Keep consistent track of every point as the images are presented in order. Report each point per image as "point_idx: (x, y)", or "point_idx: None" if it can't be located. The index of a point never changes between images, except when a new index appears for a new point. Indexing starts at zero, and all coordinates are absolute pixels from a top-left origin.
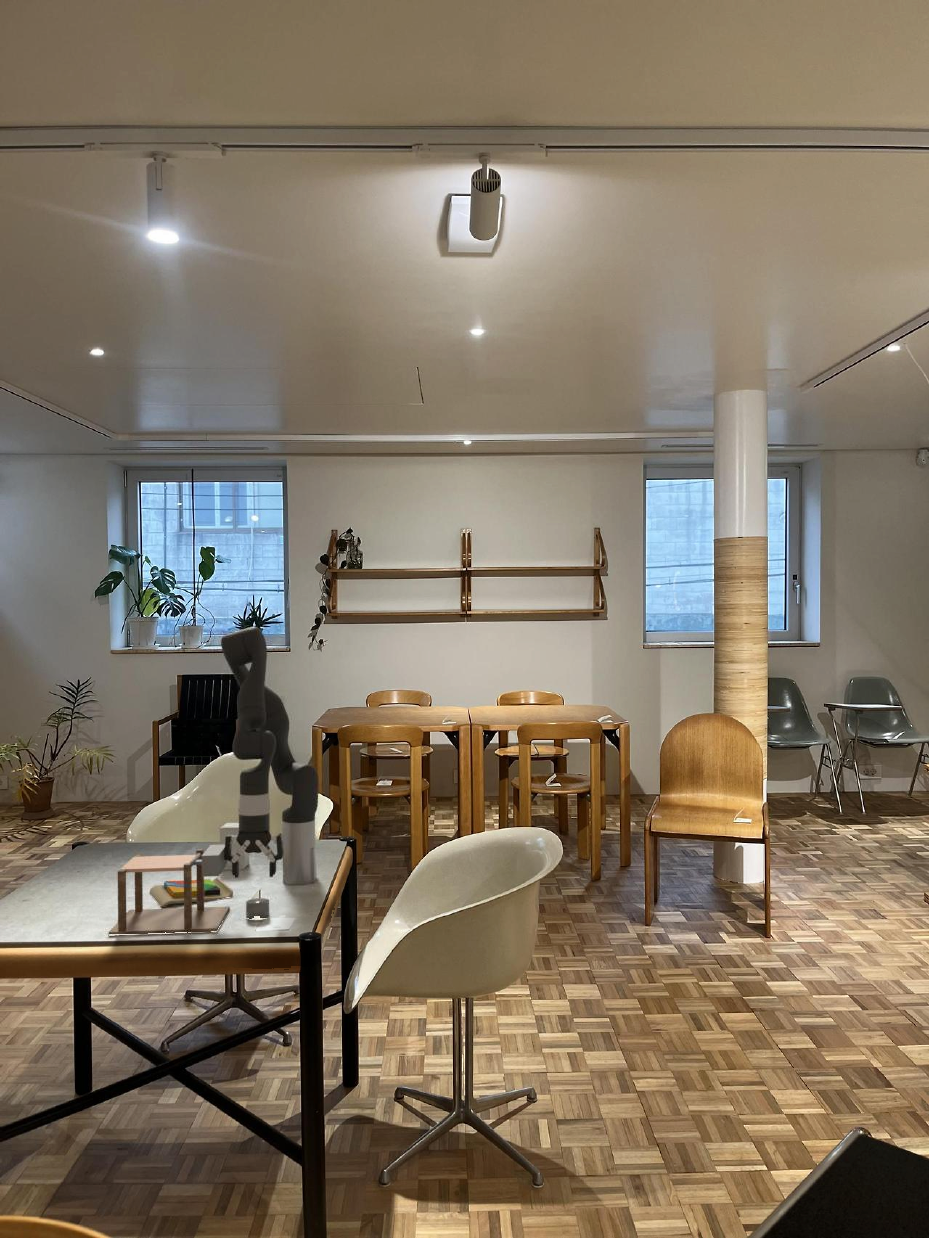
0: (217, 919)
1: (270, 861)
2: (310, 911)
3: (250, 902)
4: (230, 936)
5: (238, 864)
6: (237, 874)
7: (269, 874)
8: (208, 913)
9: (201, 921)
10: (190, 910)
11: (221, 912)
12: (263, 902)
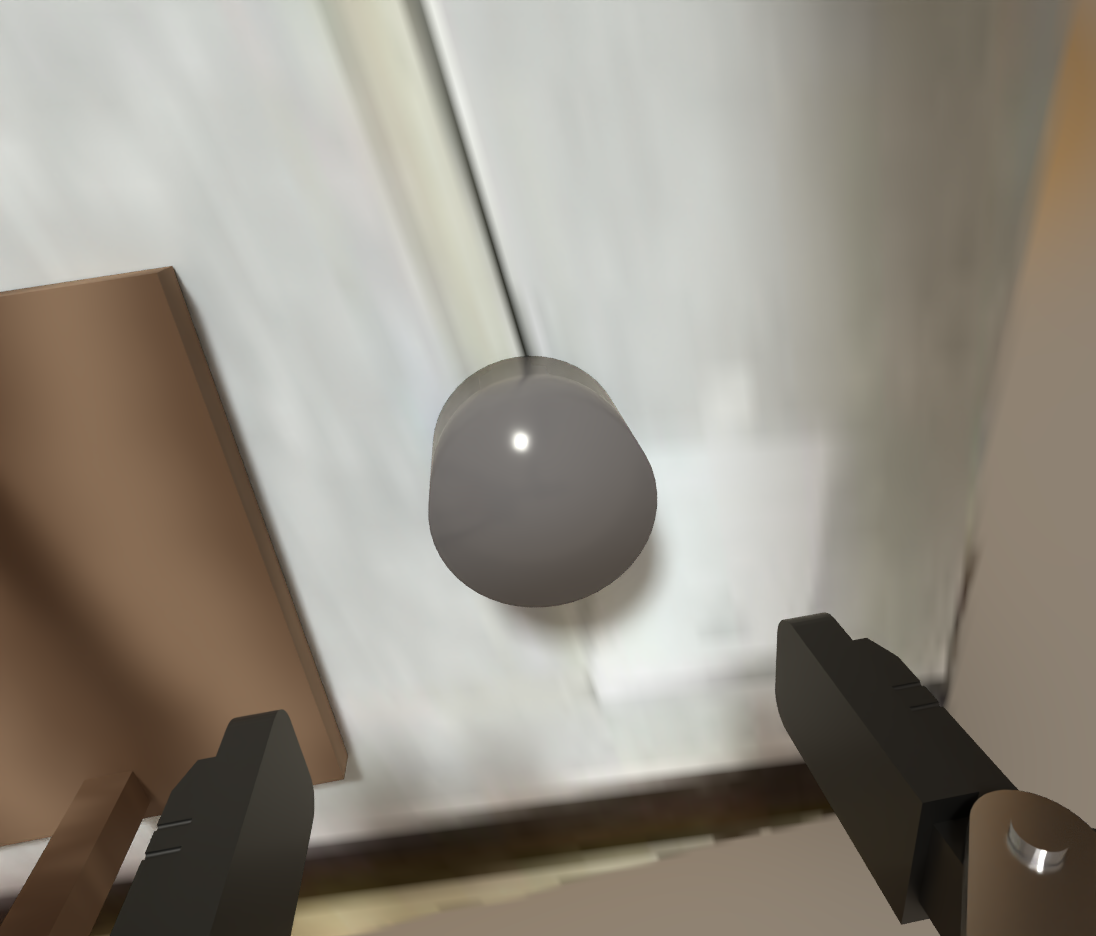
0: (249, 631)
1: (928, 917)
2: (952, 269)
3: (481, 543)
4: (467, 795)
5: (244, 927)
6: (305, 836)
7: (794, 742)
8: (67, 502)
9: (140, 682)
10: (90, 931)
11: (180, 466)
12: (612, 535)
